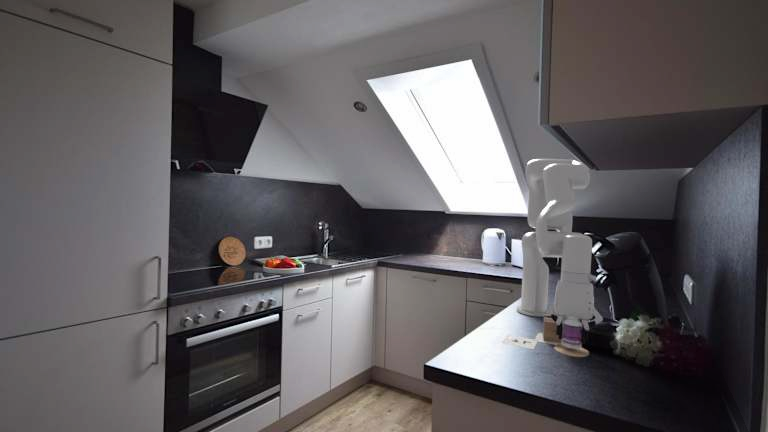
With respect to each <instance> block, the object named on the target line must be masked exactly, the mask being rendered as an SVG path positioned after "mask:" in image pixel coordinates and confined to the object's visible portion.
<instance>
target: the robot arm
mask: <svg viewBox="0 0 768 432" xmlns="http://www.w3.org/2000/svg"><path fill="white" fill-rule="evenodd" d="M524 175H525V180H526V181H525V182H526V184H527V187H528V205H527V224H528V226H529V227H530V228H533V229H535V231H530V232H526V233H525V234H524V235H523V236H522V237H521V249H522V277H521V296H520V297H521V299H520V305H518V306H516V312H518V313H520V314H523V315H526V316H531V317H539V318H540V317H543V318H544V317H549V318H552V319H553V320H554V322H555V323H556V325H557V333H556V335H559V339H562V322H563V319H564V317H565V318H566V317H572V316H573V317H575V318H578V319H580V320H581V321H582V323H583V329H582V345H585V343H586V341H588V339H589V330H590V329H591V328H593V327H595V326H596V325H598V324H600V323H601V322H603V320H604V319H603V316H602V315H601V314H600V312H598V310H597V309H596V308H595V293H594V285H593V283H592V282H593V281H594V282H596V279H597V276H596V275H593V274H591V269H592V268H591V267H592V266H591V265H592V253H593V252H592V251H593V250H592V249H593V239H592V238H591V237H590V236H589V235H585V234H583V233H581V232H572V231H573V230H572V229H573V213H572V209H573V208H574V207H575V206H576V199H575V198H576V197H575V194H574V190H584V189H586V188H587V187H588V186H589V183H590V182H591V181H590V180H591V174H590V170H589V168H588V166H586V165H585V164H584V163H582V162H580V161H578V160H576V159H567V158H565V159H562V158H535V159H531V160H529V161H528V162H527V164H526V166H525V173H524ZM551 230H552V231H551ZM553 230H554V231H553ZM544 258H561V266H560V267H561V268H560V279H558V280H557V282H556V283H557V284H556V286H555V287H556V288H555V292H554V293H555V294H554V300H553V302H552V303H551V304H550V305H549V306H548V296H549V295H548V293H549V292H548V291H549V278H550V277H549V275H550V269H549V266H548V264H547V263H546V261H545V260H544ZM593 316H594V319H593Z"/></svg>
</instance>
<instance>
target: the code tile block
mask: <svg viewBox="0 0 768 432" xmlns="http://www.w3.org/2000/svg"><path fill="white" fill-rule="evenodd" d="M534 341H538V342H537V343H539V342H540V343H544V344H548V345H554V346H555V345H558V344H562V343H556V342H549V341H544V340H543V332H538V333H537V334H536V336H535V338H534ZM561 342H562V340H561Z"/></svg>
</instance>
